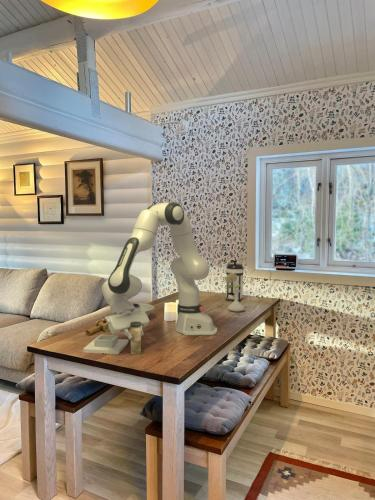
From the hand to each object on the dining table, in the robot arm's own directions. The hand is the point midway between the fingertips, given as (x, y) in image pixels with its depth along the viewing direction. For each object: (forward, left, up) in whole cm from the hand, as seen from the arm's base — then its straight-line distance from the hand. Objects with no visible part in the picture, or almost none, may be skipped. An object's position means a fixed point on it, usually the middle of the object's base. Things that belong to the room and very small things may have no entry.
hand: (136, 336), depth 164 cm
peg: (+1, 0, -7) cm, 7 cm away
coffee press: (-43, -120, -8) cm, 128 cm away
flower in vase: (-43, -87, -8) cm, 98 cm away
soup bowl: (+17, -58, -8) cm, 61 cm away
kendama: (+27, -29, -8) cm, 41 cm away
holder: (+16, -5, -7) cm, 18 cm away
